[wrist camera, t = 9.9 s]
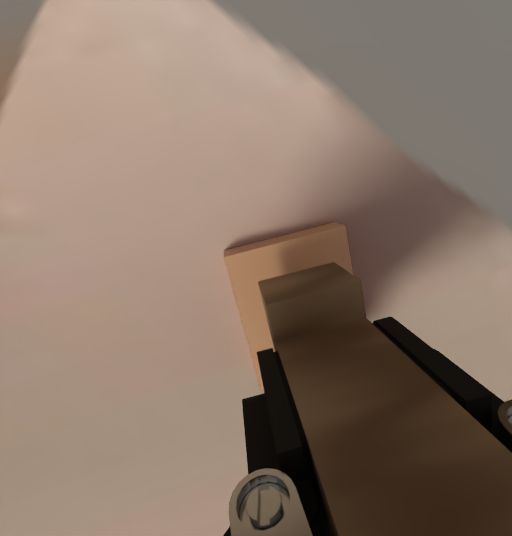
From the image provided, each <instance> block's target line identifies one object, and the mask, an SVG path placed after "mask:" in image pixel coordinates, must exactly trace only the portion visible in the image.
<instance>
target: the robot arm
mask: <svg viewBox="0 0 512 536" xmlns="http://www.w3.org/2000/svg"><path fill="white" fill-rule="evenodd" d="M373 325H374V326H375V327H376V328H377V329H379V330H380V331H381V332H382V333H383V334H384V335H385V336H386V337H387V338H388V339H389V340H390V341H391V342H393V343H394V344H395V345H396V346H397V347H398V348H399V349H400V350H401V351H402V352H403V353H404V354H406V355H407V356H408V357H409V358H410V359H411V360H412V361H413V362H414V363H415V364H416V365H417V366H418V367H420V368H421V369H422V370H423V371H424V372H425V373H426V374H427V375H428V376H429V377H430V378H431V379H433V380H434V381H435V382H436V383H437V384H438V385H439V386H440V387H441V388H442V389H443V390H444V391H445V392H447V393H448V394H449V395H450V396H451V397H452V398H453V399H454V400H455V401H456V402H457V403H458V404H460V405H461V406H462V407H463V408H464V409H465V410H466V411H467V412H468V413H469V414H470V415H471V416H472V417H474V418H475V419H476V420H477V421H478V422H479V423H480V424H481V425H482V426H483V427H484V428H485V429H486V430H488V431H489V432H490V433H491V434H492V435H493V436H494V437H495V438H496V439H497V440H498V441H499V442H501V443H502V444H503V445H504V446H505V447H506V448H507V449H508V450H509V451H510V452H511V453H512V400H509V401H506V402H503V401H502V400H501V399H500V398H498V397H497V396H496V395H494V394H493V393H492V392H490V391H489V390H488V389H487V388H485V387H484V386H483V385H481V384H480V383H479V382H478V381H476V380H475V379H474V378H472V377H471V376H470V375H468V374H467V373H466V372H465V371H463V370H462V369H461V368H459V367H458V366H457V365H455V364H454V363H453V362H452V361H450V360H449V359H448V358H446V357H445V356H444V355H443V354H441V353H440V352H439V351H437V350H435V349H433V348H431V347H430V346H429V345H427V344H426V343H425V342H424V341H422V340H421V339H420V338H418V337H417V336H416V335H415V334H413V333H412V332H411V331H409V330H408V329H407V328H406V327H404V326H403V325H402V324H400V323H399V322H398V321H397V320H395V319H394V318H393V317H387V318H383V319H379V320H376V321H374V322H373ZM257 357H258V362H259V367H260V372H261V377H262V382H263V387H264V392H265V393H264V394H261V395H257V396H253V397H250V398H246V399H243V400H242V404H243V416H244V428H245V439H246V451H247V462H248V475H247V476H246V477H244V478H243V479H242V480H241V481H240V482H239V483H238V485H237V486H236V488H235V489H234V491H233V493H232V496H231V499H230V502H229V519H230V527H229V529H228V530H227V531H226V533H225V534H224V536H330V534H329V530H328V526H327V521H326V517H325V513H324V509H323V504H322V500H321V496H320V492H319V487H318V483H317V479H316V474H315V470H314V466H313V462H312V457H311V453H310V449H309V446H308V442H307V439H306V435H305V432H304V429H303V426H302V423H301V420H300V417H299V414H298V411H297V408H296V405H295V402H294V399H293V396H292V393H291V390H290V386H289V383H288V380H287V377H286V374H285V371H284V368H283V365H282V362H281V359H280V356H279V353H278V351H276V352H274V351H273V348H270V349H266V350H262V351H258V352H257Z"/></svg>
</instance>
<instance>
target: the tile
mask: <svg viewBox="0 0 512 536" xmlns="http://www.w3.org/2000/svg"><path fill="white" fill-rule="evenodd" d="M224 260H225V263H226V267H227V270H228V274H229V278H230V281H231V285H232V288H233V292H234V296H235V299H236V303H237V307H238V310H239V314H240V317H241V321H242V325H243V328H244V332H245V336H246V339H247V343H248V346H249V350H250V354H251V357H252V361H253V364H254V368H255V372H256V375H257V379H258V383H259V386H260V390H261V391H262V390H264V387H263V382H262V377H261V372H260V367H259V362H258V357H257V352H258V351H262V350H266V349H270V348H273V351H274V352H275V350H274V346H273V342H272V337H271V333H270V329H269V325H268V321H267V317H266V313H265V309H264V305H263V301H262V297H261V293H260V289H259V285H258V281H262V280H266V279H269V278H273V277H277V276H281V275H285V274H289V273H293V272H297V271H301V270H305V269H308V268H312V267H316V266H320V265H324V264H328V263H332V262H335V263H336V264H338V265H339V266H341V267H342V268H343V269H345V270H346V271H348V272H349V273H351V274H352V275H353V270H352V264H351V257H350V251H349V245H348V238H347V232H346V226H345V225H342V224H339V223H336V222H333V223H329V224H325V225H321V226H318V227H314V228H310V229H306V230H302V231H298V232H294V233H290V234H286V235H282V236H279V237H275V238H271V239H267V240H263V241H259V242H255V243H251V244H247V245H244V246H240V247H236V248H232V249H228V250H224Z"/></svg>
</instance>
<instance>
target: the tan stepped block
mask: <svg viewBox="0 0 512 536" xmlns="http://www.w3.org/2000/svg"><path fill="white" fill-rule="evenodd" d="M258 285H259V289H260V293H261V297H262V301H263V305H264V309H265V313H266V317H267V321H268V325H269V329H270V333H271V337H272V342H273V346H274V350H275V352H276V351H278V353H279V356H280V359H281V362H282V365H283V368H284V371H285V374H286V377H287V380H288V383H289V386H290V390H291V393H292V396H293V399H294V402H295V405H296V408H297V411H298V414H299V417H300V420H301V423H302V426H303V429H304V432H305V435H306V439H307V442H308V446H309V449H310V453H311V457H312V462H313V466H314V470H315V474H316V479H317V483H318V487H319V492H320V496H321V500H322V504H323V509H324V513H325V517H326V521H327V526H328V530H329V534H330V536H512V453H511V452H510V451H509V450H508V449H507V448H506V447H505V446H504V445H503V444H502V443H501V442H499V441H498V440H497V439H496V438H495V437H494V436H493V435H492V434H491V433H490V432H489V431H488V430H486V429H485V428H484V427H483V426H482V425H481V424H480V423H479V422H478V421H477V420H476V419H475V418H474V417H472V416H471V415H470V414H469V413H468V412H467V411H466V410H465V409H464V408H463V407H462V406H461V405H460V404H458V403H457V402H456V401H455V400H454V399H453V398H452V397H451V396H450V395H449V394H448V393H447V392H445V391H444V390H443V389H442V388H441V387H440V386H439V385H438V384H437V383H436V382H435V381H434V380H433V379H431V378H430V377H429V376H428V375H427V374H426V373H425V372H424V371H423V370H422V369H421V368H420V367H418V366H417V365H416V364H415V363H414V362H413V361H412V360H411V359H410V358H409V357H408V356H407V355H406V354H404V353H403V352H402V351H401V350H400V349H399V348H398V347H397V346H396V345H395V344H394V343H393V342H391V341H390V340H389V339H388V338H387V337H386V336H385V335H384V334H383V333H382V332H381V331H380V330H379V329H377V328H376V327H375V326H374V325H373V324H372V323H371V322H370V321H369V320H368V319H367V318H366V314H365V307H364V300H363V293H362V287H361V280H359V279H358V278H356V277H355V276H354V275H352V274H351V273H349V272H348V271H346V270H345V269H343V268H342V267H341V266H339V265H338V264H336V263H335V262H332V263H328V264H324V265H320V266H316V267H312V268H308V269H305V270H301V271H297V272H293V273H289V274H285V275H281V276H277V277H273V278H269V279H266V280H262V281H258Z"/></svg>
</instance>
